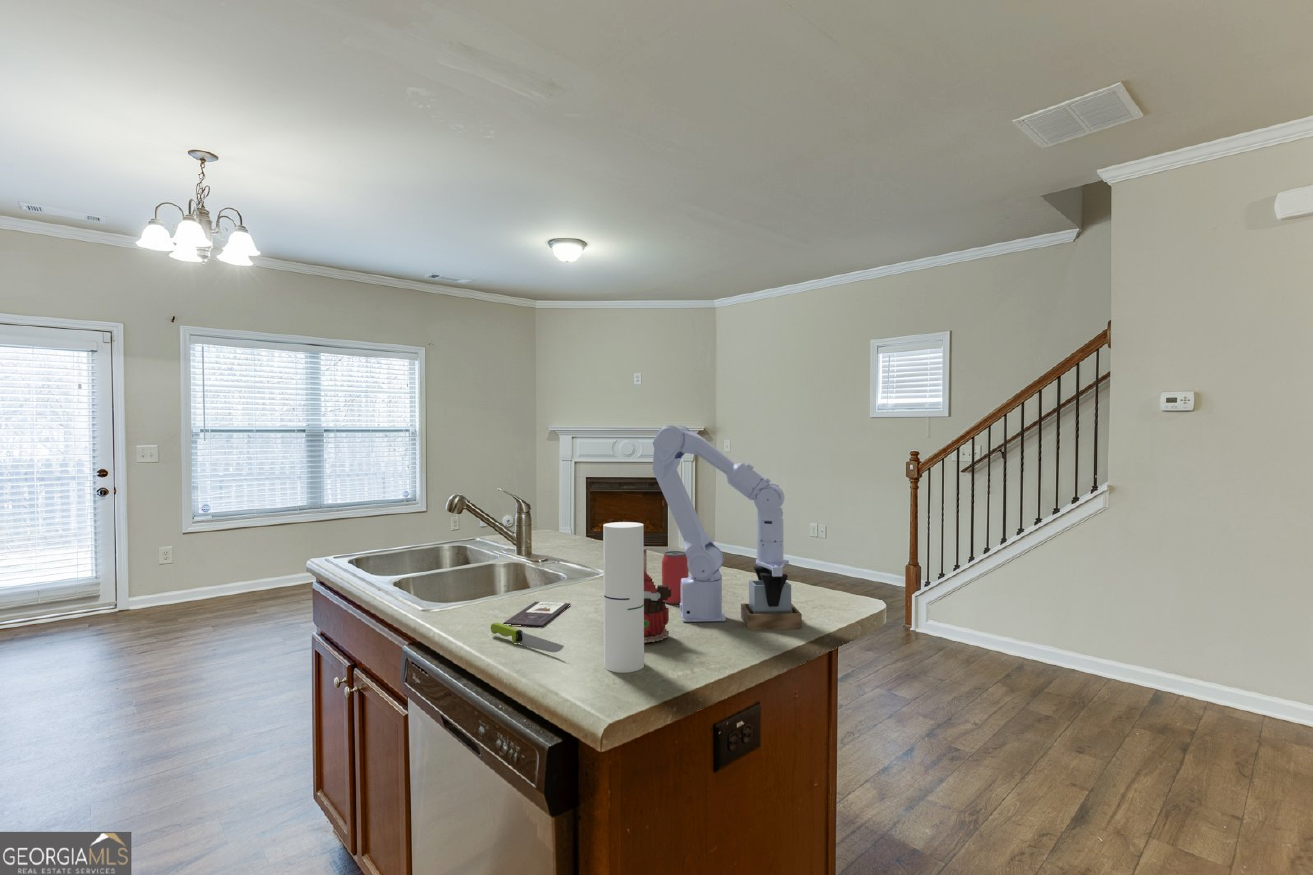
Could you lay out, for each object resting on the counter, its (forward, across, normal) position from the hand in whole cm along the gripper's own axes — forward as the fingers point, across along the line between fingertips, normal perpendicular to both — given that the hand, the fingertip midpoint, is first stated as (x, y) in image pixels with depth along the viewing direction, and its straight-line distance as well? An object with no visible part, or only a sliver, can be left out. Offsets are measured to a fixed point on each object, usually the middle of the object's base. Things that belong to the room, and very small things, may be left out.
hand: (770, 602), depth 137 cm
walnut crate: (+5, 0, 0) cm, 5 cm away
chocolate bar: (+5, +9, +52) cm, 53 cm away
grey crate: (+2, 0, 0) cm, 2 cm away
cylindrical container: (+5, -24, +32) cm, 40 cm away
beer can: (+5, +19, +20) cm, 28 cm away
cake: (+5, -9, +28) cm, 29 cm away
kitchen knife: (+5, -13, +51) cm, 53 cm away
